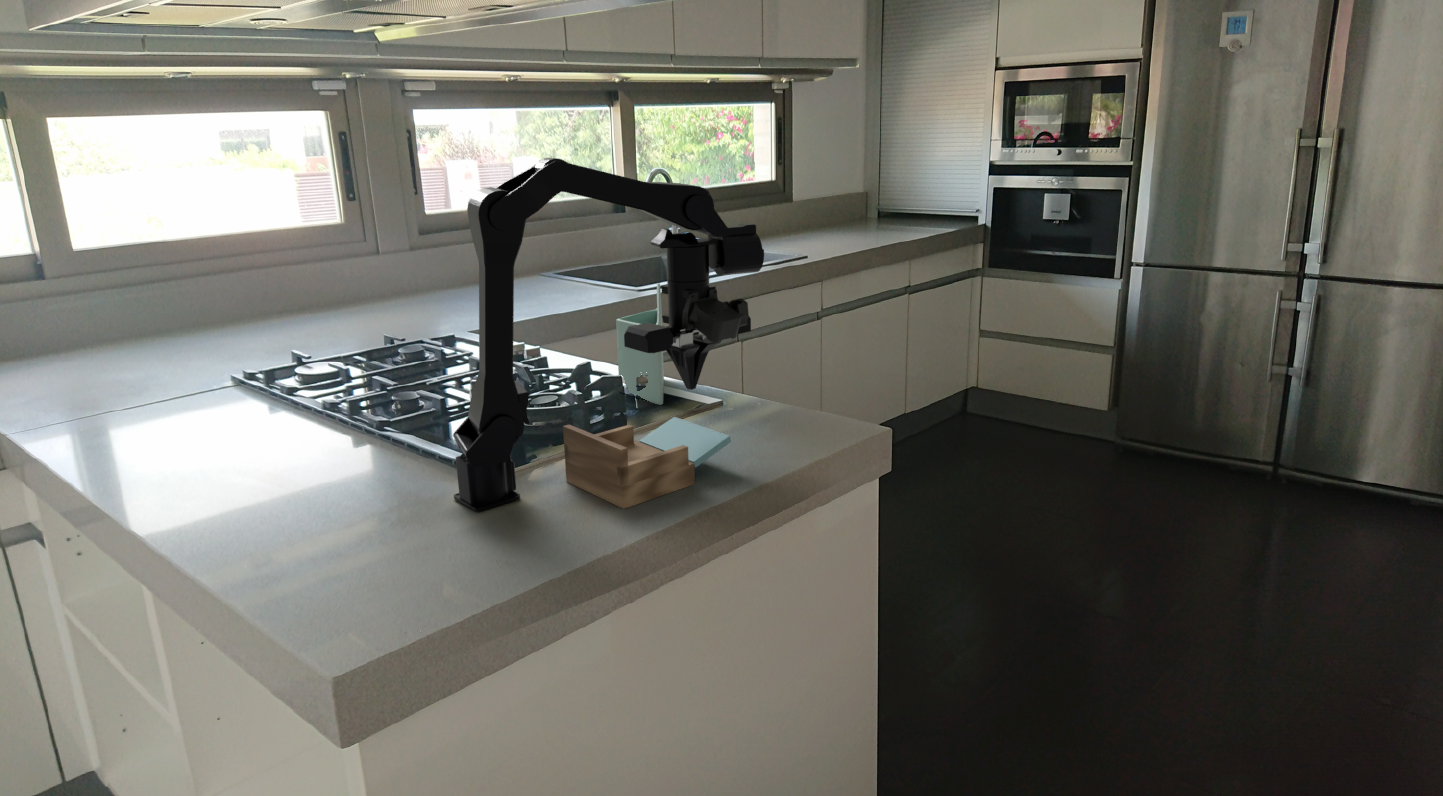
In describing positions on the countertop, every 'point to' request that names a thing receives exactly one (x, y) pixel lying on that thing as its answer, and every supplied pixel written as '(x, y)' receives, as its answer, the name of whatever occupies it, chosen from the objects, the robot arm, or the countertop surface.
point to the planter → (641, 356)
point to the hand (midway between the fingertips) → (691, 389)
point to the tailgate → (687, 439)
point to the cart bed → (623, 466)
